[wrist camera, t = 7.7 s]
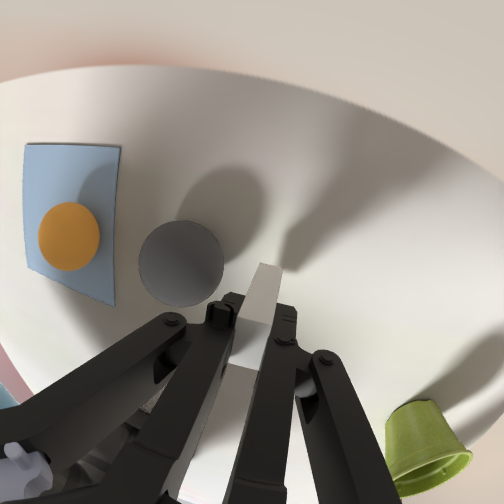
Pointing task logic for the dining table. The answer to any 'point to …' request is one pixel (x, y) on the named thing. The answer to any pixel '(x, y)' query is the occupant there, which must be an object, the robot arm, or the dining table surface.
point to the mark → (78, 191)
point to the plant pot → (422, 449)
